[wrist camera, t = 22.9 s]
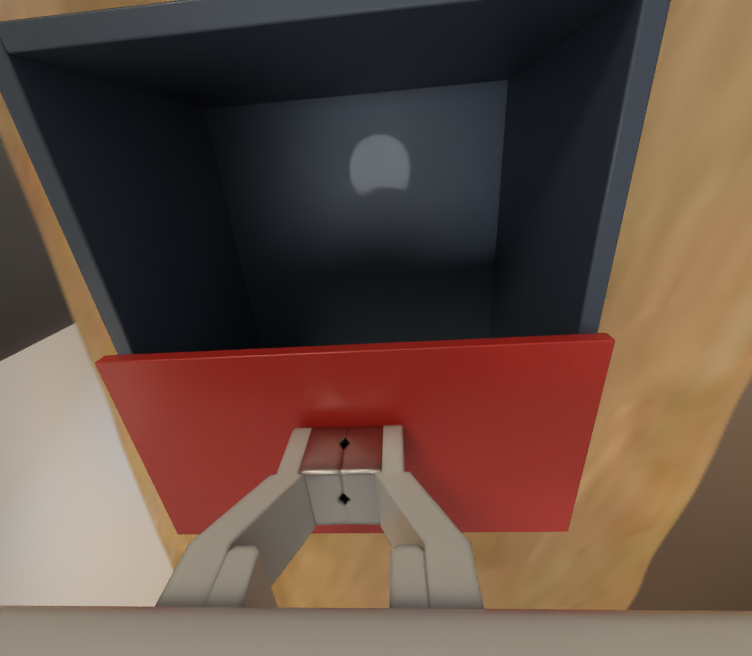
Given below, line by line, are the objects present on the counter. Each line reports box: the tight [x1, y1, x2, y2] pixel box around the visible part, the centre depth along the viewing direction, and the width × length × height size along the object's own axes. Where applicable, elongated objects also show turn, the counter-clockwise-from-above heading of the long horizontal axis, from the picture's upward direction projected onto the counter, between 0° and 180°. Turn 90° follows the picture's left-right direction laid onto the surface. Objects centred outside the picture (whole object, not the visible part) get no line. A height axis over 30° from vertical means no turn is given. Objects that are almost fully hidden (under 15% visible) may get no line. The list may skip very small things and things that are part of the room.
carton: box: [0, 0, 671, 355], centre depth 13 cm, size 14×13×8 cm
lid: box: [95, 333, 615, 534], centre depth 10 cm, size 7×13×1 cm, turn 94°
